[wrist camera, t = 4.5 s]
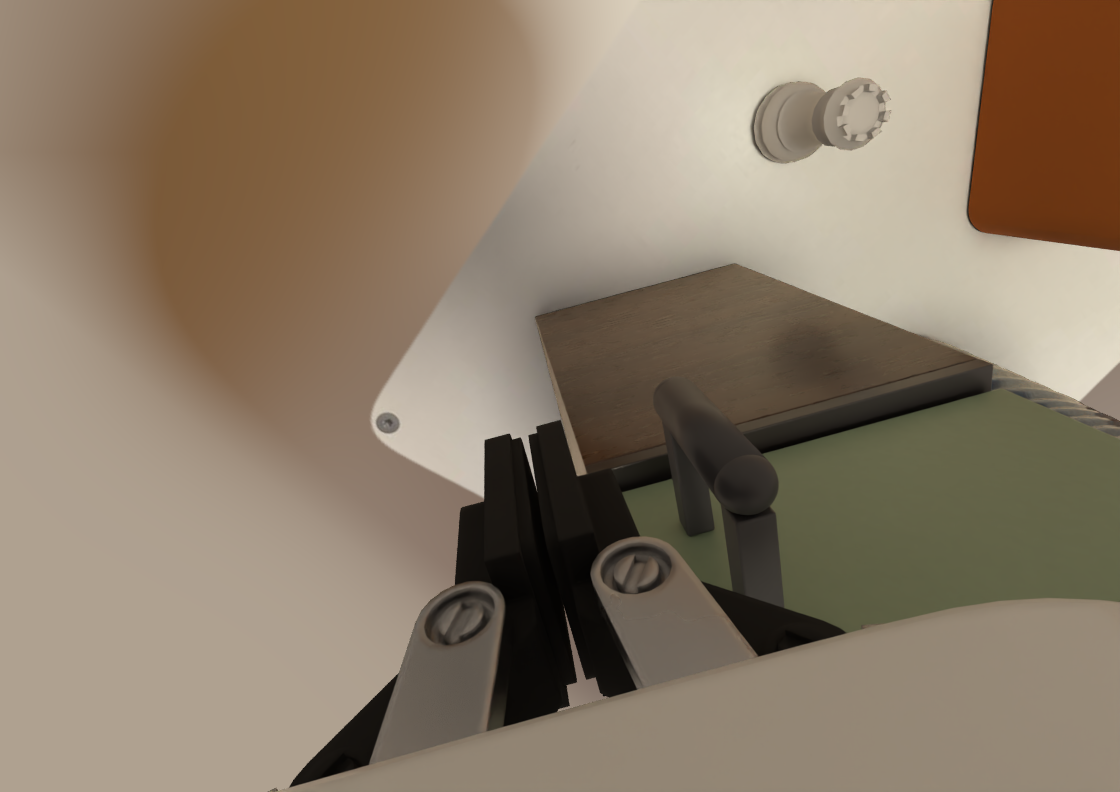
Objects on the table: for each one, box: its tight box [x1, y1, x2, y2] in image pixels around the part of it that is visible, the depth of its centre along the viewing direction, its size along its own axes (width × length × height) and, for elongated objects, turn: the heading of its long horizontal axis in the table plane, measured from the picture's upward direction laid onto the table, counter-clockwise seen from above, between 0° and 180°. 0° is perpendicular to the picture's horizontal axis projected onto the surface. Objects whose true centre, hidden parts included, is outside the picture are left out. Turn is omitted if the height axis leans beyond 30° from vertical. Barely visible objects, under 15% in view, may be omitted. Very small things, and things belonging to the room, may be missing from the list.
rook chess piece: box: [754, 78, 891, 163], centre depth 30 cm, size 4×4×8 cm
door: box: [622, 377, 1120, 633], centre depth 13 cm, size 5×14×10 cm, turn 103°
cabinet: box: [535, 264, 993, 492], centre depth 25 cm, size 11×14×31 cm
